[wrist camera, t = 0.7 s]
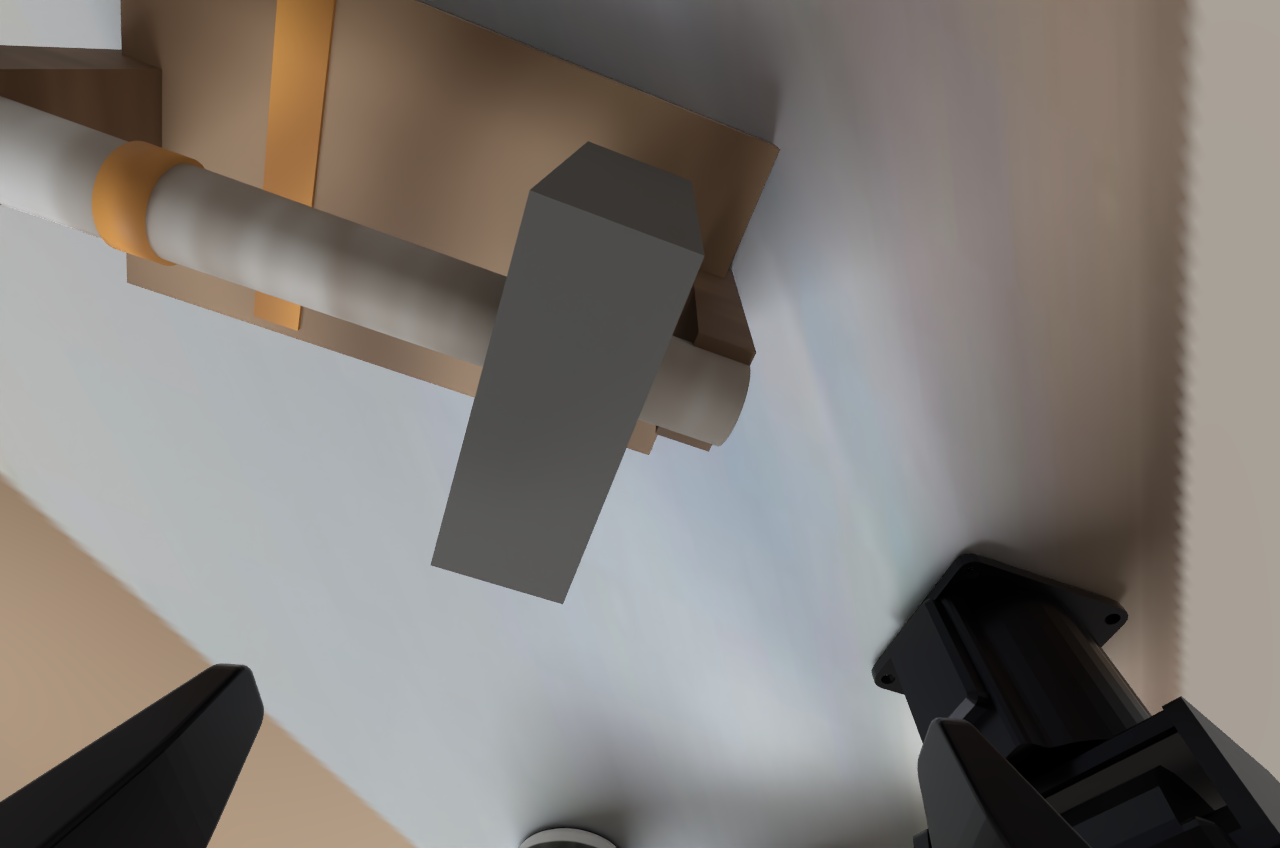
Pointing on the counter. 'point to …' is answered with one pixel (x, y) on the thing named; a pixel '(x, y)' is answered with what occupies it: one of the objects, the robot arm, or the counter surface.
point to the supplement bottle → (566, 839)
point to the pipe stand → (363, 179)
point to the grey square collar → (568, 367)
